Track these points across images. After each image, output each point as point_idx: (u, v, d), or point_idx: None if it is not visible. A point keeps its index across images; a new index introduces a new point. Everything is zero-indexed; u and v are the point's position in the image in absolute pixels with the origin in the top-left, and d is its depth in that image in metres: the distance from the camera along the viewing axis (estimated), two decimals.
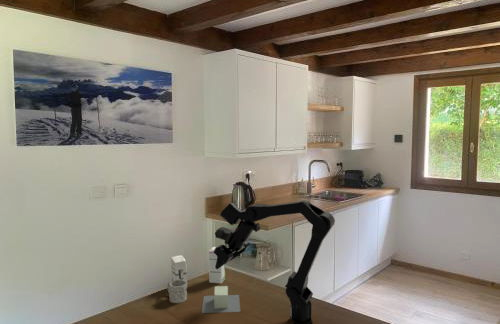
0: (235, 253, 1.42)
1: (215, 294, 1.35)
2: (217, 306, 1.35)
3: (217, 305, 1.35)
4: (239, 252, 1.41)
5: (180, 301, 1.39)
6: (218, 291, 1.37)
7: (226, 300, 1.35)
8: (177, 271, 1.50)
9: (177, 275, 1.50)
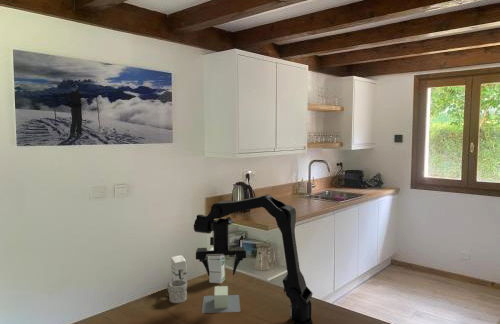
0: (234, 264, 1.37)
1: (215, 294, 1.35)
2: (217, 306, 1.35)
3: (217, 305, 1.35)
4: (234, 261, 1.36)
5: (180, 301, 1.39)
6: (218, 291, 1.37)
7: (226, 300, 1.35)
8: (177, 271, 1.50)
9: (177, 275, 1.50)
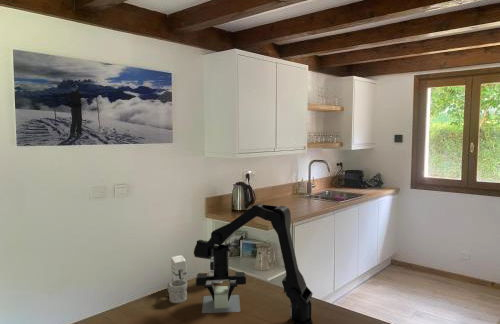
0: None
1: (215, 294, 1.35)
2: (217, 306, 1.35)
3: (217, 305, 1.35)
4: (229, 287, 1.37)
5: (180, 301, 1.39)
6: (218, 291, 1.37)
7: (226, 300, 1.35)
8: (177, 271, 1.50)
9: (177, 275, 1.50)
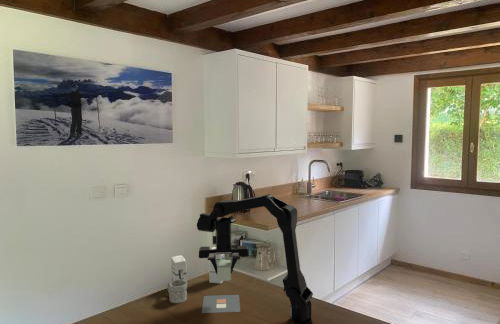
0: (231, 262, 1.38)
1: (218, 266, 1.35)
2: (220, 278, 1.35)
3: (220, 277, 1.35)
4: (232, 260, 1.37)
5: (180, 301, 1.39)
6: (221, 264, 1.38)
7: (229, 272, 1.35)
8: (177, 271, 1.50)
9: (177, 275, 1.50)
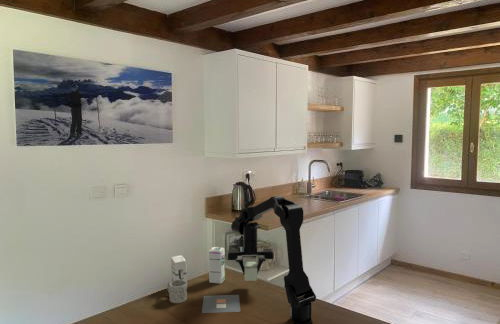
0: (257, 264, 1.50)
1: (245, 268, 1.48)
2: (247, 278, 1.47)
3: (248, 277, 1.47)
4: (258, 262, 1.49)
5: (180, 301, 1.39)
6: (248, 266, 1.50)
7: (256, 273, 1.47)
8: (177, 271, 1.50)
9: (177, 275, 1.50)
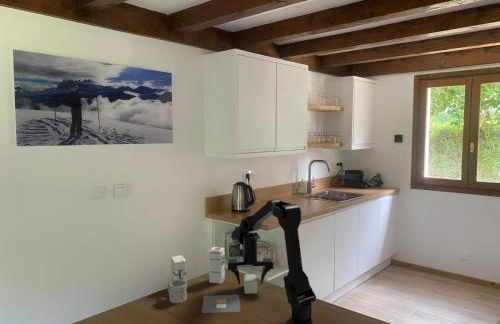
0: (261, 274, 1.51)
1: (245, 281, 1.48)
2: (247, 292, 1.48)
3: (248, 291, 1.48)
4: (262, 272, 1.49)
5: (180, 301, 1.39)
6: (248, 279, 1.50)
7: (255, 286, 1.48)
8: (177, 271, 1.50)
9: (177, 275, 1.50)
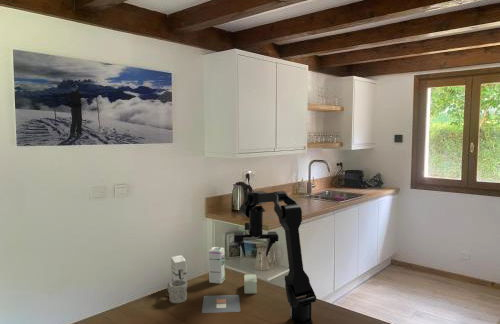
0: (267, 246, 1.55)
1: (245, 281, 1.48)
2: (247, 292, 1.48)
3: (247, 291, 1.48)
4: (268, 244, 1.53)
5: (180, 301, 1.39)
6: (247, 279, 1.50)
7: (255, 286, 1.48)
8: (177, 271, 1.50)
9: (177, 275, 1.50)
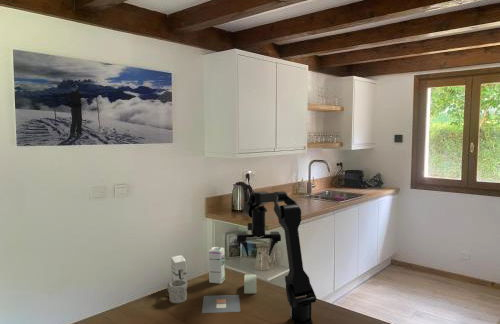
0: (269, 246, 1.56)
1: (245, 281, 1.48)
2: (246, 292, 1.48)
3: (247, 291, 1.48)
4: (270, 244, 1.55)
5: (180, 301, 1.39)
6: (247, 279, 1.50)
7: (255, 286, 1.47)
8: (177, 271, 1.50)
9: (177, 275, 1.50)
